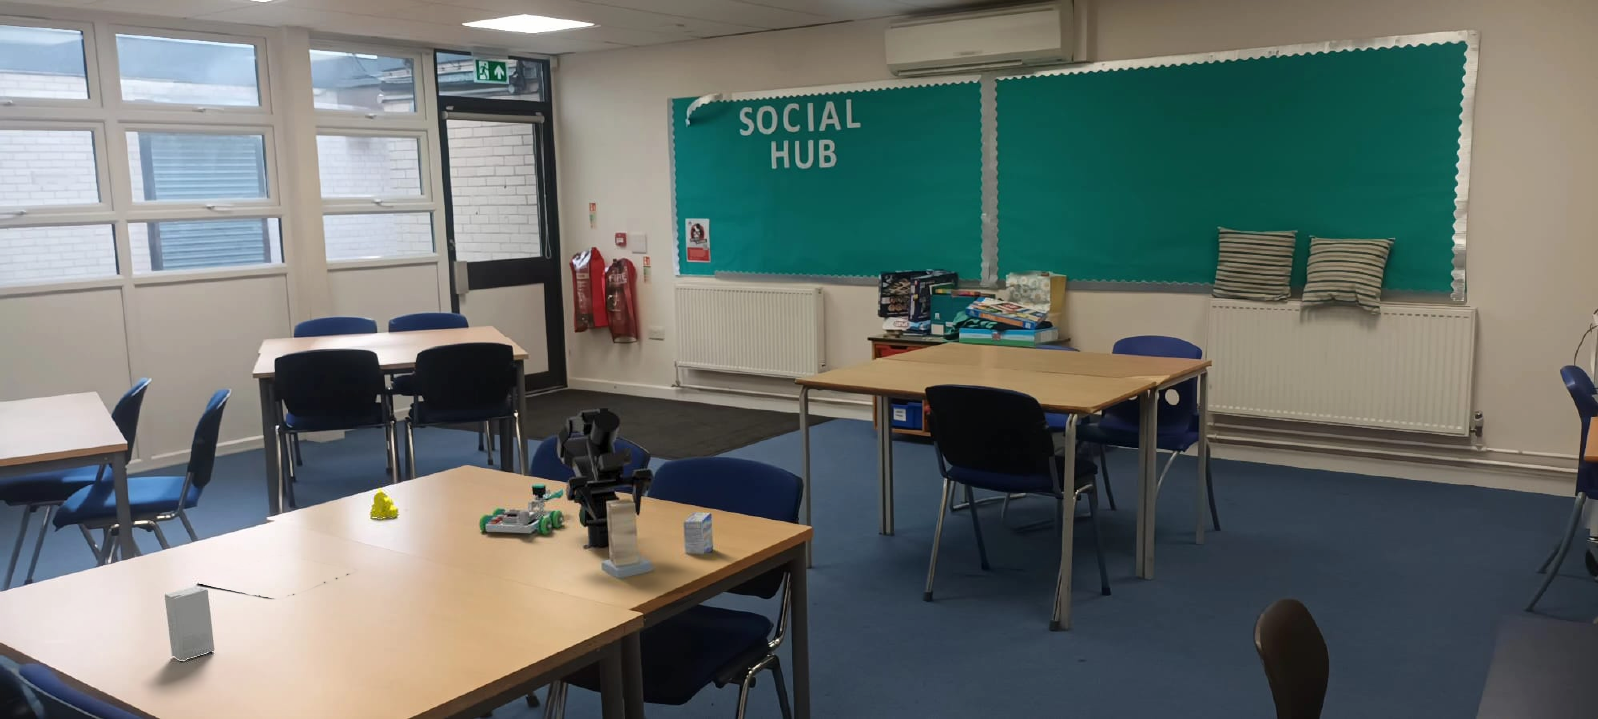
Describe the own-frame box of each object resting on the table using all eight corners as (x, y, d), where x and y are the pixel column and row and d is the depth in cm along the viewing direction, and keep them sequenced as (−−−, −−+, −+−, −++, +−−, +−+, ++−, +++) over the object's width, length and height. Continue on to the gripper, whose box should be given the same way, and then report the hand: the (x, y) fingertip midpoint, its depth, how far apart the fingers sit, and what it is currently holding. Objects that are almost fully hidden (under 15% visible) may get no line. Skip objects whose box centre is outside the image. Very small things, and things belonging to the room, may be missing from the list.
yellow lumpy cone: (386, 520, 296) (384, 491, 295) (365, 517, 300) (362, 488, 299) (404, 515, 301) (401, 486, 300) (382, 512, 305) (380, 483, 304)
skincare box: (205, 647, 210) (199, 583, 209) (216, 653, 207) (209, 588, 206) (169, 658, 206) (163, 593, 204) (180, 663, 203) (173, 598, 201)
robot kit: (585, 513, 299) (583, 478, 297) (541, 540, 275) (539, 502, 273) (520, 510, 303) (518, 475, 302) (471, 536, 279) (469, 499, 278)
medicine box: (703, 559, 255) (702, 521, 254) (684, 558, 256) (683, 521, 255) (713, 549, 262) (712, 512, 261) (694, 548, 263) (693, 511, 262)
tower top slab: (602, 570, 246) (601, 561, 245) (635, 562, 250) (635, 554, 250) (618, 579, 239) (617, 570, 239) (652, 571, 244) (651, 562, 243)
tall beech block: (609, 560, 246) (606, 501, 244) (632, 557, 248) (629, 498, 246) (615, 566, 241) (611, 506, 240) (638, 562, 243) (635, 503, 242)
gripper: (565, 441, 246) (579, 503, 238) (649, 432, 254) (666, 492, 245) (560, 469, 255) (573, 530, 246) (641, 460, 262) (657, 518, 254)
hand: (618, 517), depth 248 cm, fingers open, 9 cm apart
